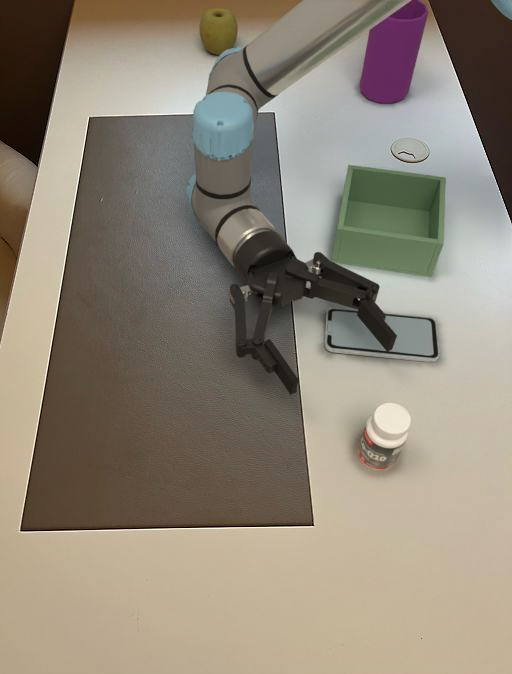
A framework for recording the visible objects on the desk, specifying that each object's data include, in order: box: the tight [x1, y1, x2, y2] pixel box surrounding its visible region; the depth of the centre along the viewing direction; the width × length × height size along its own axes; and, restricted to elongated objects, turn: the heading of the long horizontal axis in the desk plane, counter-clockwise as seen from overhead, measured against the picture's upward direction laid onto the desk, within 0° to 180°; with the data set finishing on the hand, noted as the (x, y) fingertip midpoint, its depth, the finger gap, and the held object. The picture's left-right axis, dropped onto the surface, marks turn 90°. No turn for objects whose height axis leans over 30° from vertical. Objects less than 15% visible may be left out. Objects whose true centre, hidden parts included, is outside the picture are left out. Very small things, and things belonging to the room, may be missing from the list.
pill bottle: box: [356, 402, 412, 471], centre depth 71 cm, size 5×5×8 cm
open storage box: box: [330, 164, 447, 278], centre depth 93 cm, size 15×15×7 cm
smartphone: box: [324, 307, 441, 363], centre depth 84 cm, size 7×1×15 cm
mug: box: [359, 0, 429, 104], centre depth 114 cm, size 9×16×15 cm, turn 164°
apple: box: [198, 7, 239, 56], centre depth 124 cm, size 8×8×7 cm
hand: (344, 365), depth 73 cm, fingers open, 13 cm apart
